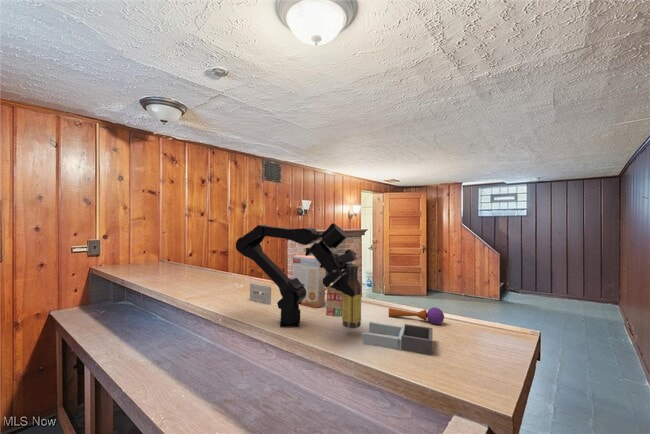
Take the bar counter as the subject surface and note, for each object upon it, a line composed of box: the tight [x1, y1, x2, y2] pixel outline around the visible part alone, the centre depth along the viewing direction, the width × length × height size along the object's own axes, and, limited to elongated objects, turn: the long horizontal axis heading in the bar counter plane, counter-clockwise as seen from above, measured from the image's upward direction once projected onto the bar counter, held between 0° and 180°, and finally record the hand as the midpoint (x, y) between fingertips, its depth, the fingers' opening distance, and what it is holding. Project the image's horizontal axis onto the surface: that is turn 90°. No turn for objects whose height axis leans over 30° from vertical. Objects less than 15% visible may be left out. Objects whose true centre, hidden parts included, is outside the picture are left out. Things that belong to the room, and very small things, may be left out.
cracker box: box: [292, 254, 327, 309], centre depth 130 cm, size 14×6×21 cm, turn 58°
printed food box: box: [326, 283, 343, 317], centre depth 126 cm, size 21×6×12 cm, turn 170°
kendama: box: [387, 306, 445, 325], centre depth 113 cm, size 6×6×20 cm
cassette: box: [249, 282, 272, 306], centre depth 130 cm, size 12×2×8 cm, turn 58°
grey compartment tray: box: [362, 321, 434, 356], centre depth 92 cm, size 20×11×4 cm, turn 70°
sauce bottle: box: [341, 263, 362, 330], centre depth 98 cm, size 6×6×20 cm
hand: (356, 293), depth 97 cm, fingers closed on sauce bottle, 6 cm apart
